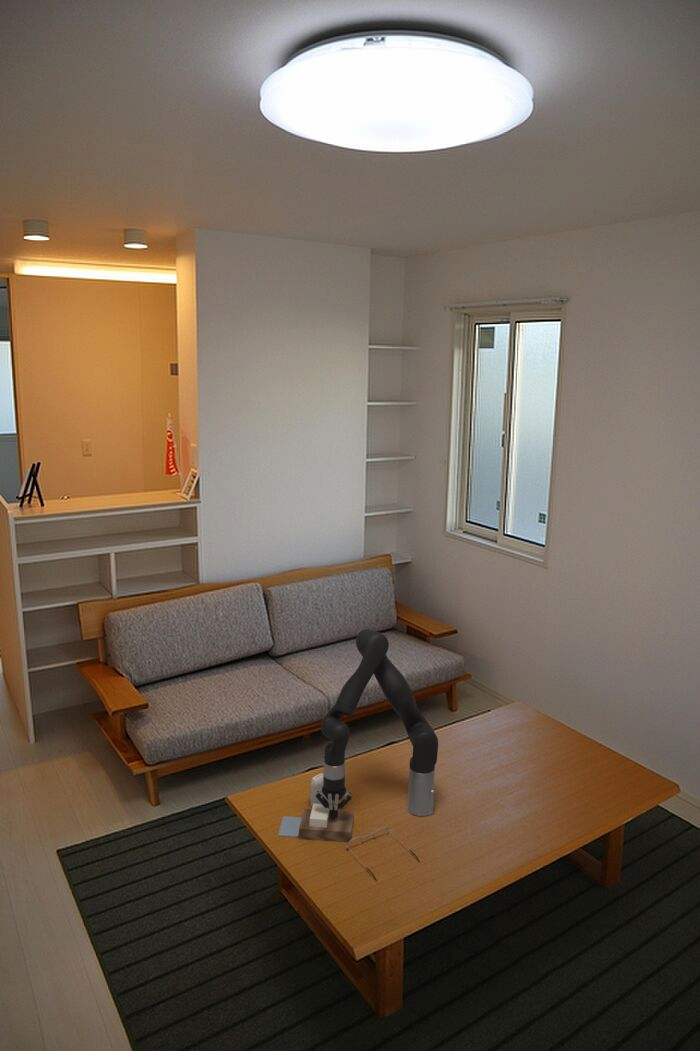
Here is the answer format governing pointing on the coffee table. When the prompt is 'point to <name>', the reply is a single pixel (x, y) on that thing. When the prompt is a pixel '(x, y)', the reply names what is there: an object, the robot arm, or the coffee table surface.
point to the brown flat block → (328, 827)
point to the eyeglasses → (376, 838)
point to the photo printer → (316, 789)
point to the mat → (290, 826)
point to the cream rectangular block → (319, 816)
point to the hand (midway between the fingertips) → (333, 817)
